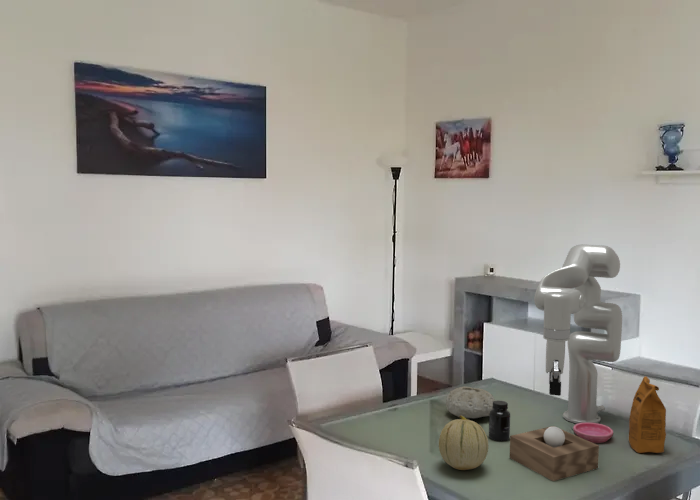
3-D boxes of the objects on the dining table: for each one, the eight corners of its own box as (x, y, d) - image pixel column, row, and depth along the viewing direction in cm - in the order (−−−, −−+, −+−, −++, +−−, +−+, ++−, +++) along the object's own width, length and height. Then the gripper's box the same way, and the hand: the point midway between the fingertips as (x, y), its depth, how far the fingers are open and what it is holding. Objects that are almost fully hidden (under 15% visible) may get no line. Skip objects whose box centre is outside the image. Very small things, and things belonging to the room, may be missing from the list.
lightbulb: (539, 458, 201) (540, 423, 200) (559, 458, 202) (560, 423, 200) (547, 467, 195) (548, 431, 194) (567, 466, 196) (568, 430, 194)
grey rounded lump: (473, 404, 250) (473, 379, 250) (506, 419, 235) (507, 391, 234) (436, 413, 241) (436, 386, 240) (468, 428, 226) (469, 400, 225)
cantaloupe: (455, 482, 185) (456, 430, 183) (428, 462, 198) (429, 414, 197) (498, 473, 191) (500, 423, 189) (470, 454, 204) (471, 407, 203)
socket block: (552, 447, 210) (553, 425, 209) (598, 468, 194) (599, 445, 193) (509, 457, 202) (510, 435, 201) (553, 481, 186) (554, 457, 185)
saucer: (568, 439, 217) (568, 430, 216) (578, 428, 227) (578, 419, 227) (608, 448, 210) (608, 438, 210) (616, 435, 220) (617, 426, 220)
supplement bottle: (510, 442, 214) (511, 406, 212) (488, 441, 215) (489, 405, 214) (509, 434, 220) (510, 400, 219) (488, 433, 222) (489, 398, 220)
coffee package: (657, 441, 215) (660, 375, 213) (667, 456, 203) (671, 387, 201) (624, 439, 217) (627, 373, 215) (633, 454, 205) (636, 385, 203)
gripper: (543, 326, 204) (541, 380, 206) (543, 339, 188) (541, 397, 189) (569, 328, 202) (567, 382, 204) (571, 341, 185) (568, 400, 187)
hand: (554, 389), depth 197 cm, fingers open, 9 cm apart
